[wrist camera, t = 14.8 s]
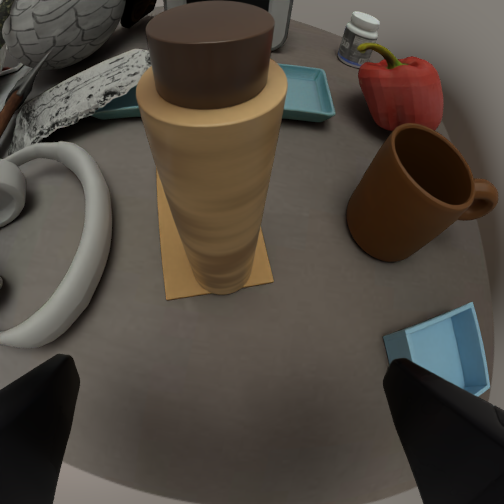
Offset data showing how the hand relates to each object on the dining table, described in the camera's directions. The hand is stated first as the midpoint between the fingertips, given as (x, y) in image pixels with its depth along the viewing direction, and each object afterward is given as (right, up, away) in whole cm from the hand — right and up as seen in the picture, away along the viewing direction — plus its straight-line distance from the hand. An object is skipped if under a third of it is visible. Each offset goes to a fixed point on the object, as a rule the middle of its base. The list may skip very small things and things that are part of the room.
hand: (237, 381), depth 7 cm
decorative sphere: (-28, +35, +27) cm, 52 cm away
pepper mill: (-2, +2, +15) cm, 15 cm away
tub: (+15, -6, +13) cm, 21 cm away
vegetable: (+17, +17, +21) cm, 32 cm away
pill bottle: (+15, +32, +29) cm, 46 cm away
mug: (+14, +5, +18) cm, 23 cm away
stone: (-21, +25, +20) cm, 39 cm away
